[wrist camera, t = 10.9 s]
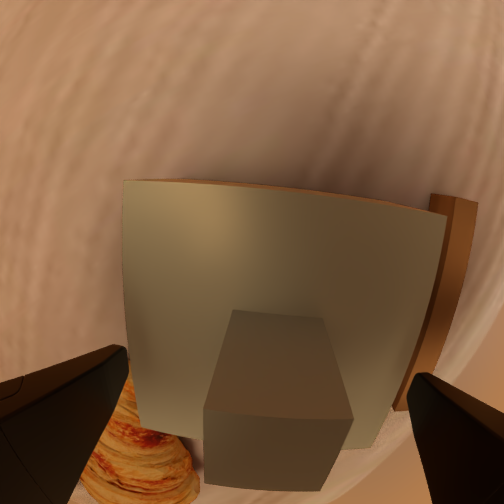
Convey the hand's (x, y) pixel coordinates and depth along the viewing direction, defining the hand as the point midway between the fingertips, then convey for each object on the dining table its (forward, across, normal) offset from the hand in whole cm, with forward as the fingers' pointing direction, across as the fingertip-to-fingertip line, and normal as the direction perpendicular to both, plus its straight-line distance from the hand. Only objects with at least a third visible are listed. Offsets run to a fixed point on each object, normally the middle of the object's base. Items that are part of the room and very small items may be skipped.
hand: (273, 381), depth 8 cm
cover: (+8, 0, 0) cm, 8 cm away
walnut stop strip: (+8, -8, 0) cm, 11 cm away
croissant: (+8, +8, +16) cm, 19 cm away
